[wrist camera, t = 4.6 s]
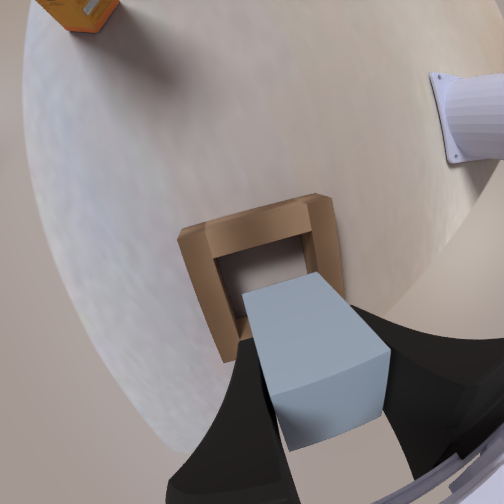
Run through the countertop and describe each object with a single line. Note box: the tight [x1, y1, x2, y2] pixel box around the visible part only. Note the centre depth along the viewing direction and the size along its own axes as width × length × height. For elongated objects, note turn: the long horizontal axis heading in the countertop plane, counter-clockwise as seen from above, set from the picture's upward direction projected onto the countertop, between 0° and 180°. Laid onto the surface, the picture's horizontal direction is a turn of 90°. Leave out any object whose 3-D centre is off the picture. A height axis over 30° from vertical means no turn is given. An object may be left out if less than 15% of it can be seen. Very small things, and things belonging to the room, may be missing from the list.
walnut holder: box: [177, 193, 345, 363], centre depth 16 cm, size 8×8×2 cm
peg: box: [242, 272, 391, 452], centre depth 10 cm, size 4×4×6 cm
